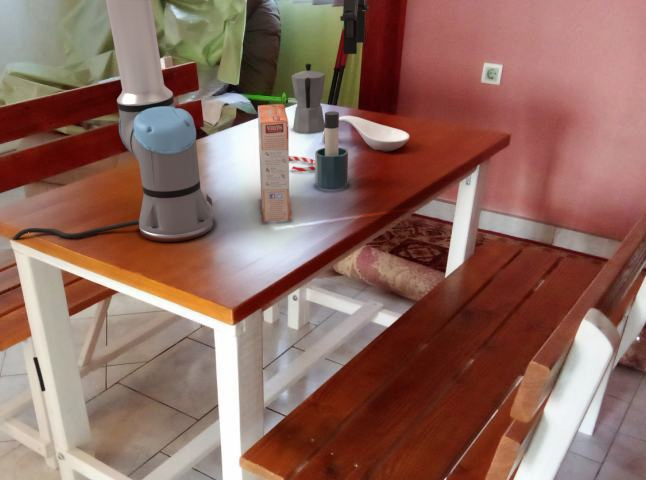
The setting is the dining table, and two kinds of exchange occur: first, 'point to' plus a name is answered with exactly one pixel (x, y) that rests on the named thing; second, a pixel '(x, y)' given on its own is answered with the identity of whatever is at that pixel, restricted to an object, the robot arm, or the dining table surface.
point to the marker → (331, 133)
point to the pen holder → (331, 169)
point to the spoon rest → (376, 134)
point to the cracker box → (274, 162)
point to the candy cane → (293, 158)
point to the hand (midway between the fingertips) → (354, 48)
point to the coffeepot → (308, 101)
